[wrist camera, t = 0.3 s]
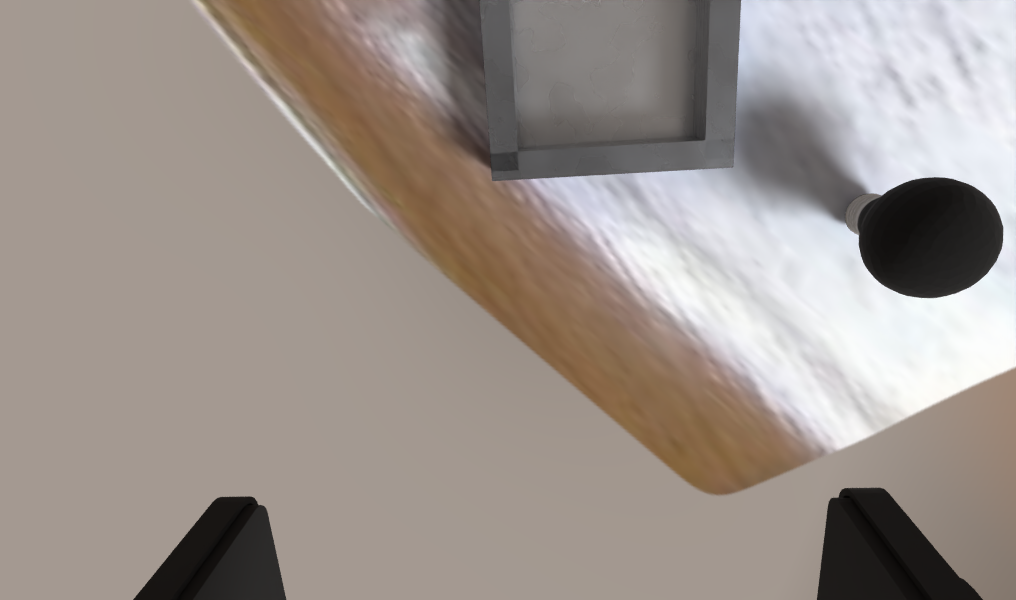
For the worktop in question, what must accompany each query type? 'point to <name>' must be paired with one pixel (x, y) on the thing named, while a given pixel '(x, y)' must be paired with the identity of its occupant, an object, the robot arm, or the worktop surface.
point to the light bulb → (927, 236)
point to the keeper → (609, 85)
